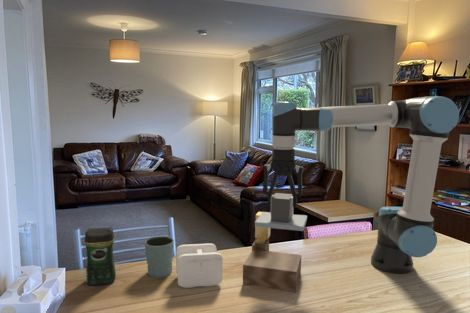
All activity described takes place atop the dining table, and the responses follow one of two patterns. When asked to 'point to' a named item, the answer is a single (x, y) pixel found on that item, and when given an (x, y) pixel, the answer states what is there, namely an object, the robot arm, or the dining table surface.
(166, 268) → the teal cup
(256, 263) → the walnut box
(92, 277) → the coffee jar
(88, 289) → the dining table surface
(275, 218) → the cover
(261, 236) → the pale yellow upright block
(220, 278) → the white rounded double-panel block
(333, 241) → the dining table surface
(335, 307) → the dining table surface
